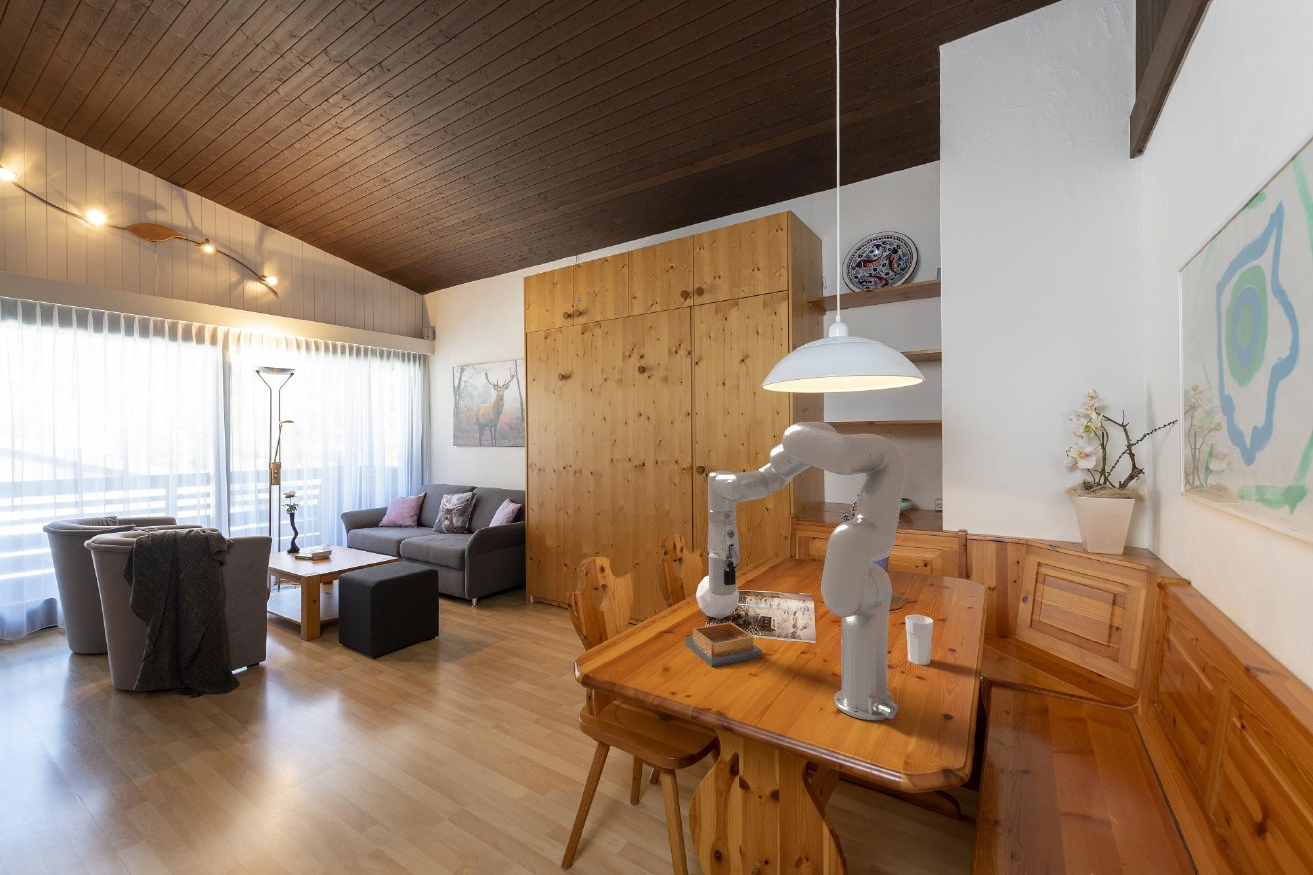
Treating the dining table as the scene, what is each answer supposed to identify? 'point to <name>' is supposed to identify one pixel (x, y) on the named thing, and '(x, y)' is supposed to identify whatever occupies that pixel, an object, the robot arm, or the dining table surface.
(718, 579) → the can
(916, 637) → the cup
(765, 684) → the dining table surface
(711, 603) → the geodesic sphere
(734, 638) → the open square box
